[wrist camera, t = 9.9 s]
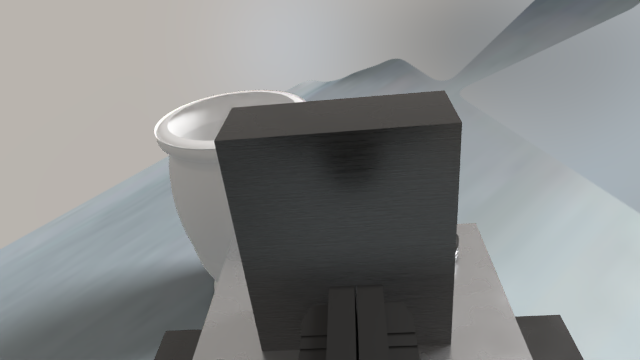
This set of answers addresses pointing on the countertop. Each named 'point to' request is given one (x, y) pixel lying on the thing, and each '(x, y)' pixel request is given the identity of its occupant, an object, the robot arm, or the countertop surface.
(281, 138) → the lid
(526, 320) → the grey rectangular container
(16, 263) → the countertop surface
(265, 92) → the jar
